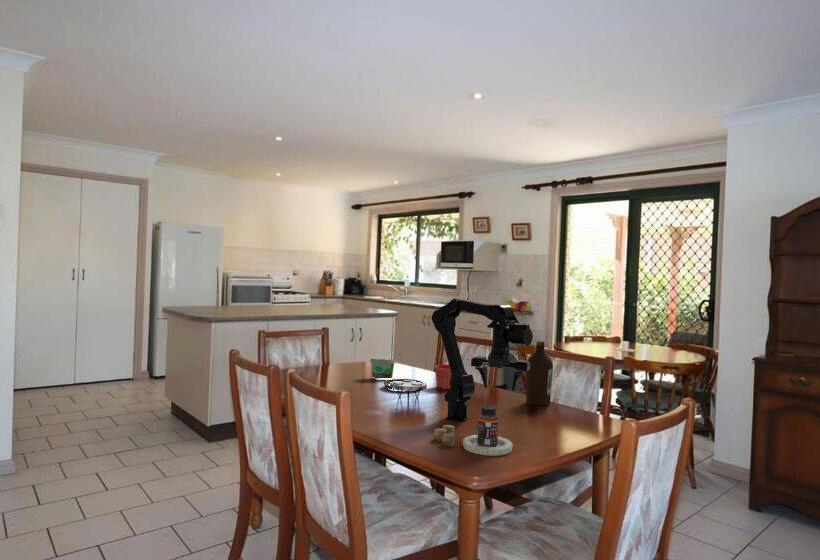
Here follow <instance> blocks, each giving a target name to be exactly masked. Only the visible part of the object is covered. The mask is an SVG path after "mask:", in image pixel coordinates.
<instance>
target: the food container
mask: <svg viewBox="0 0 820 560" xmlns="http://www.w3.org/2000/svg"><path fill="white" fill-rule="evenodd" d="M369 363H371V373H372V374H371V375H372V376H373V377H375V378H392V379H393V375H394V367H395V364H396V359H395V358H392V359H383V358H380V359H378V358H377V359H376V358H373V357H372V356H371V358H370V360H369Z"/></svg>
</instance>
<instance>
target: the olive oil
mask: <svg viewBox="0 0 820 560" xmlns="http://www.w3.org/2000/svg"><path fill="white" fill-rule="evenodd" d="M535 343H536V345H535V351H534V352H533V353H532V354H531V355H530V356H529V357H528V358H527V360H526V361H529V362H530V369H529V370H528V371H525V373H526V374H525V377H526V381H525V382H526V383H525V385H526V386H525V387H526V388H525V390H526V392H525V393H526V396H525V397H526V398H525V402H526V403H527V404H528V405H530V406H536V407H547V406H550V405H551V399H552V397H551V396H552V384H553V374H554V364H553V360H552V359H551V357H550V356H549V355H548V354H547V353H546V352H545V346H546V345H545V341H541V340H539V341H538V340H537V341H536V342H535Z"/></svg>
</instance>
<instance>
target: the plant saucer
mask: <svg viewBox="0 0 820 560" xmlns="http://www.w3.org/2000/svg"><path fill="white" fill-rule="evenodd" d="M403 380H412V381H416V382H421V383H423V385H424V384H425V383H424V382H423V381H421V380H419V379H411V378H410V379H409V378H396V379H395V378H394V379H393V378H392V380H387V381H382V382H383V385H384V387H385V388H386V389H387V388H389V389H392V387H391V386H389V385H388V384H390V382H393V381H403ZM393 390H394V389H393Z"/></svg>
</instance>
